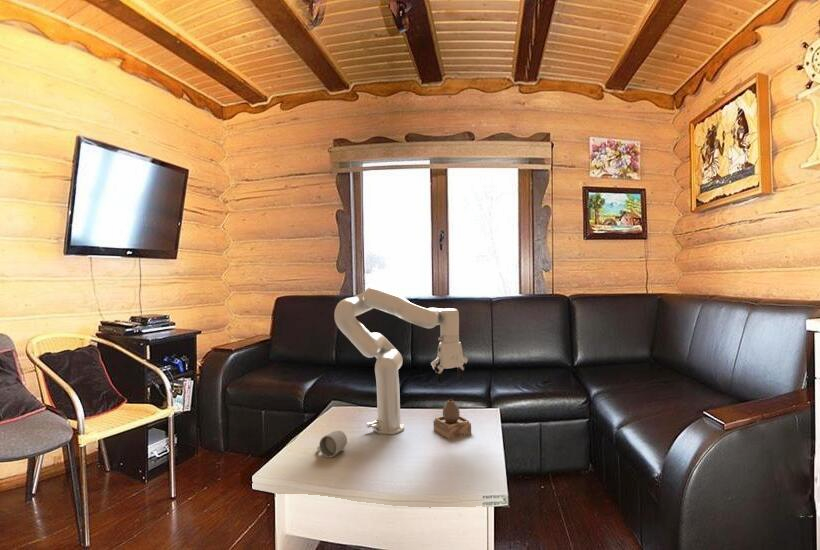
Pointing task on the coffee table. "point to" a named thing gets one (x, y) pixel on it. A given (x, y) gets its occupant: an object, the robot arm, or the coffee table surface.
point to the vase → (451, 412)
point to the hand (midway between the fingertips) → (449, 380)
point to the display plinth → (452, 427)
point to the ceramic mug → (332, 443)
